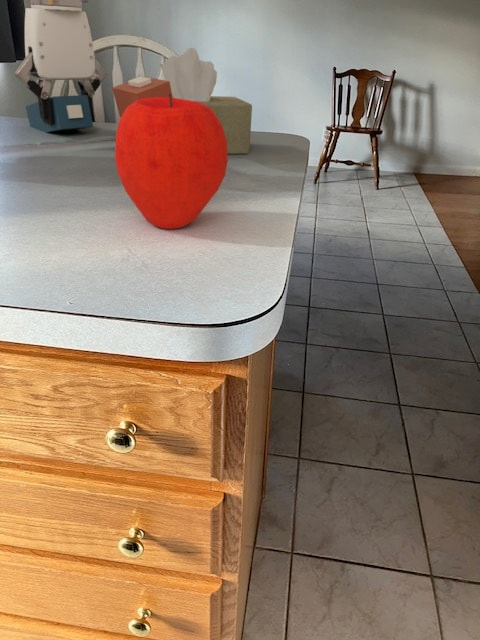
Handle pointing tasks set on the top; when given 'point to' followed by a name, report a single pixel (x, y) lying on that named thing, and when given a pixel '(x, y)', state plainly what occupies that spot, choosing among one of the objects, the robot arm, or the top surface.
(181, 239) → the top surface
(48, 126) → the tissue pack back
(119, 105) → the tissue pack front
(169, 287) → the top surface
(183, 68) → the tissue box
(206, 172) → the apple
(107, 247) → the top surface
